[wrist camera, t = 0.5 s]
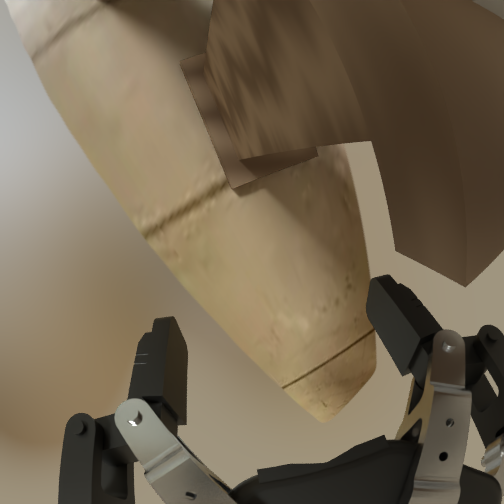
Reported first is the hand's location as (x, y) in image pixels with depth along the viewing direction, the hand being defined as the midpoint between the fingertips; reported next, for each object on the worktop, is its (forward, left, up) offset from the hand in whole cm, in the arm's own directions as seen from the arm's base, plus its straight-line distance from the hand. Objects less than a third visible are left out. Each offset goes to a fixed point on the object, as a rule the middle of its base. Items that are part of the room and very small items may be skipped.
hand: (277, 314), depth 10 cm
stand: (-11, +9, -25) cm, 29 cm away
